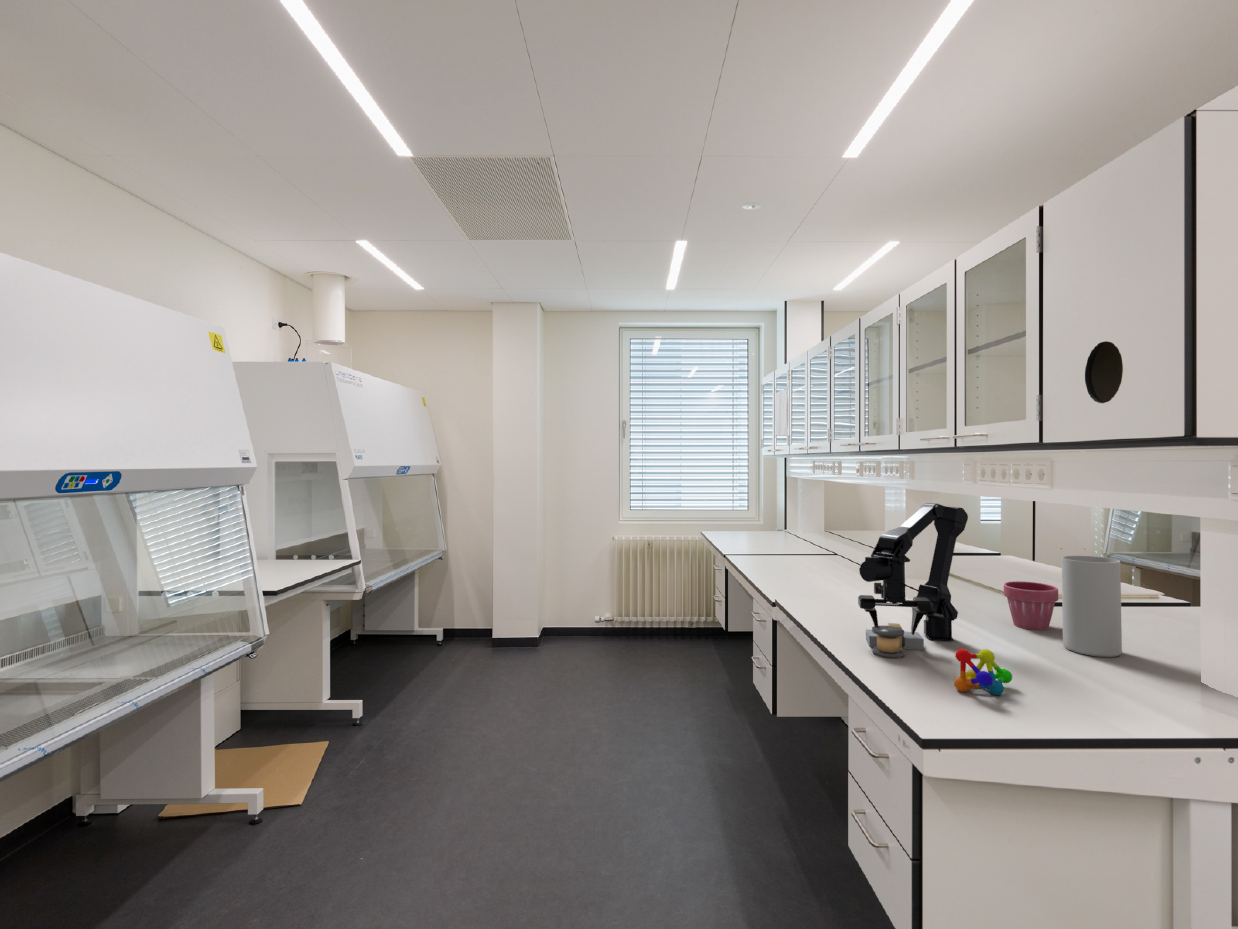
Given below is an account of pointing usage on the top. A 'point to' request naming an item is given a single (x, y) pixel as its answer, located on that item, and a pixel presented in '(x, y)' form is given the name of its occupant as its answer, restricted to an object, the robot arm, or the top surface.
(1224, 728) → the top surface
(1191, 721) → the top surface
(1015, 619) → the plant pot
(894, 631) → the bobbin
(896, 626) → the tan wooden block
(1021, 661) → the top surface
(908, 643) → the notch board
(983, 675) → the molecular model
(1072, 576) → the cylinder vase
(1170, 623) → the top surface
